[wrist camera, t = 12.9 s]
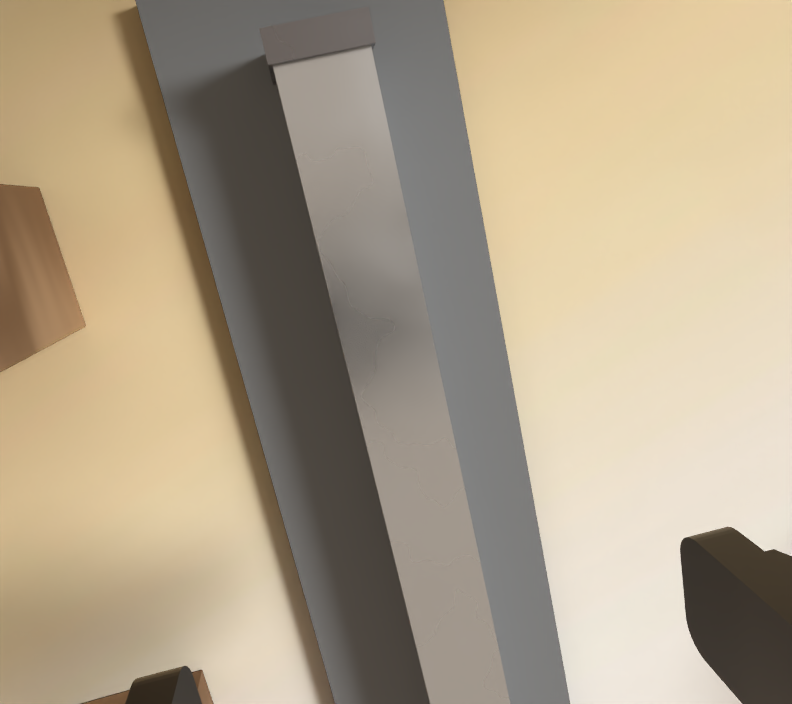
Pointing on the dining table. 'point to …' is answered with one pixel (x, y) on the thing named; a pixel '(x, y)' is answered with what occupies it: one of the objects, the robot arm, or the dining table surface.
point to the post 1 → (31, 279)
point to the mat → (319, 341)
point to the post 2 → (118, 700)
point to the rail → (387, 343)
